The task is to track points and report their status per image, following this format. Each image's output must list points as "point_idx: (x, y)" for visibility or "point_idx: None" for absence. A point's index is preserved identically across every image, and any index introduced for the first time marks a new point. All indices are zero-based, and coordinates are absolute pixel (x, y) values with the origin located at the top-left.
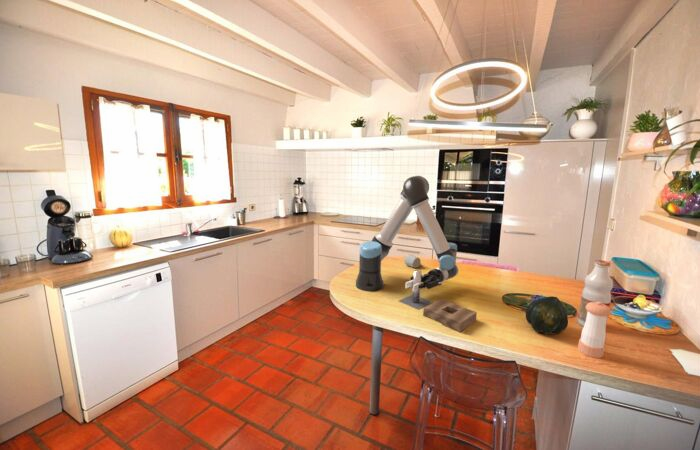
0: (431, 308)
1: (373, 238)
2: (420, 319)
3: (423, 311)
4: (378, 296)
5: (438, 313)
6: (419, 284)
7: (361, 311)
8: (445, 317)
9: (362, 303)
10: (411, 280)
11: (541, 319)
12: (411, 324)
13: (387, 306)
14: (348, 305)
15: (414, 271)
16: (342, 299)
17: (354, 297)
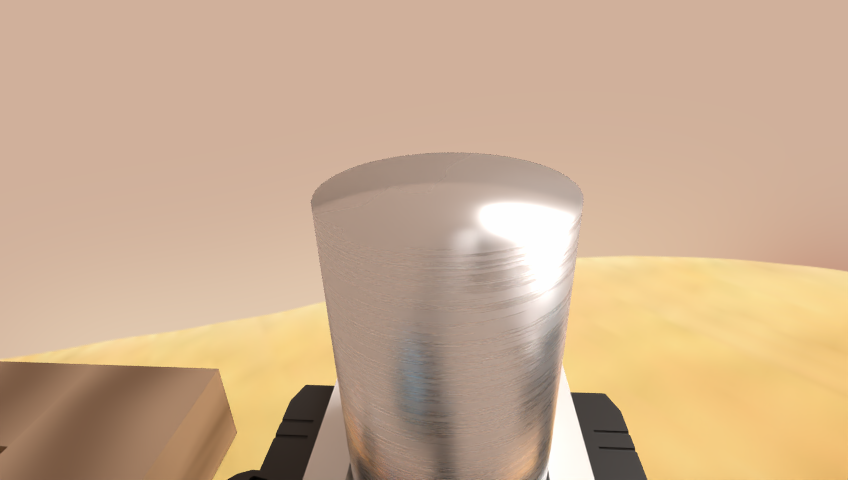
0: (134, 402)
1: None
2: (247, 385)
3: (226, 398)
4: (833, 467)
5: (63, 369)
6: (337, 399)
7: (589, 263)
8: (2, 364)
9: (697, 309)
10: (564, 403)
11: None
12: (287, 316)
13: (566, 376)
14: (695, 261)
15: (494, 158)
16: (804, 276)
17: (834, 327)
